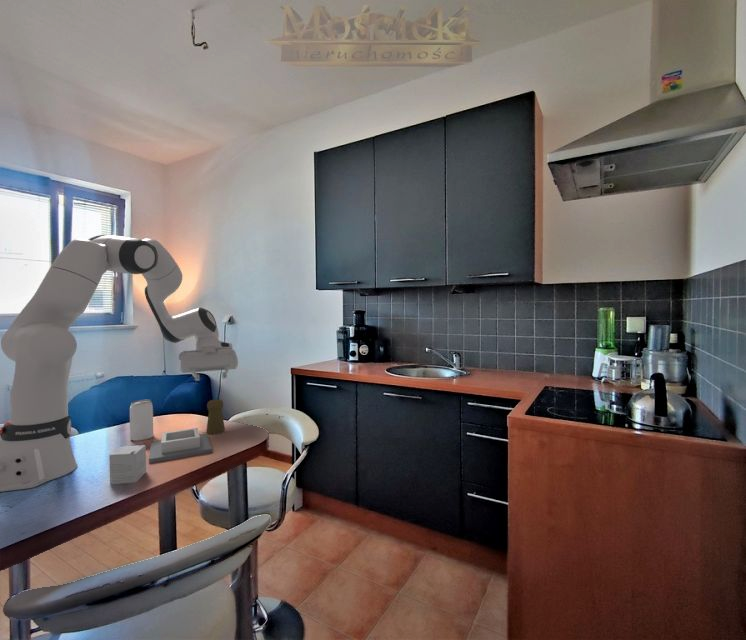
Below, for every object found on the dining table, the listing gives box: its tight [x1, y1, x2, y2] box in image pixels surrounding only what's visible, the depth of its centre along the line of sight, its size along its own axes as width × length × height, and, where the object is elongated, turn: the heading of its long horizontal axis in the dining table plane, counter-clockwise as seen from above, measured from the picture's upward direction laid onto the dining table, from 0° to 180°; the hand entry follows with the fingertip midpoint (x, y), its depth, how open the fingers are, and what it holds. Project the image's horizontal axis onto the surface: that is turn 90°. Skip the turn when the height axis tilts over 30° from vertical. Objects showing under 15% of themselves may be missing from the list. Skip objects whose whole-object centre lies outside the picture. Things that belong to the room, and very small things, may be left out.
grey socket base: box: [148, 427, 213, 464], centre depth 115 cm, size 16×16×4 cm
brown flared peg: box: [205, 398, 226, 436], centre depth 130 cm, size 6×6×11 cm
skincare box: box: [108, 444, 147, 485], centre depth 95 cm, size 6×6×7 cm
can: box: [129, 399, 154, 442], centre depth 124 cm, size 6×6×12 cm
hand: (211, 378), depth 141 cm, fingers open, 8 cm apart
